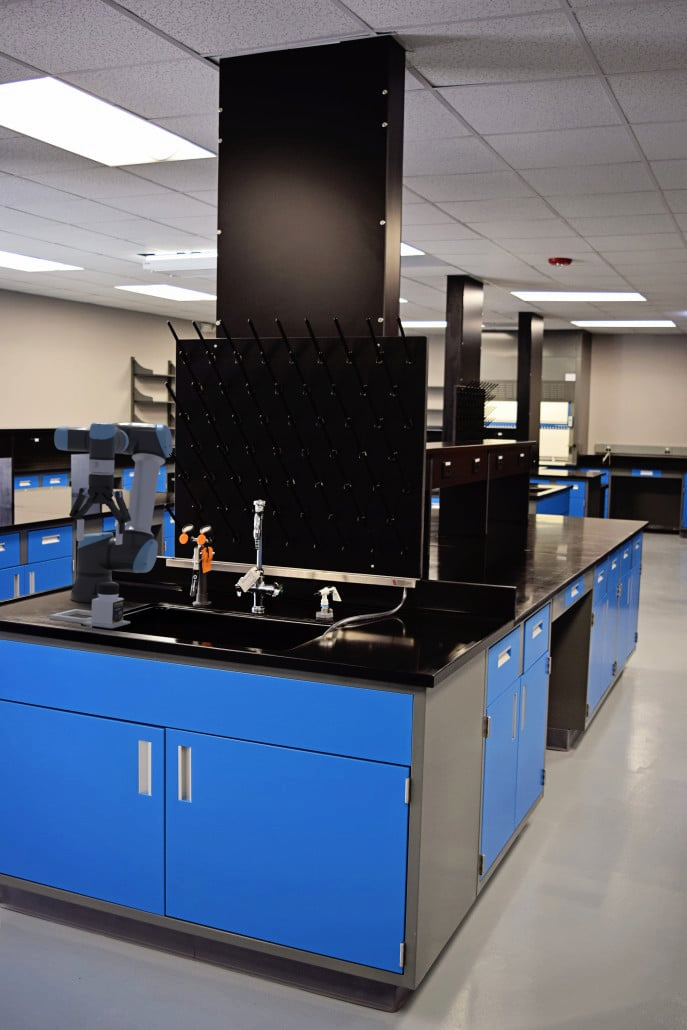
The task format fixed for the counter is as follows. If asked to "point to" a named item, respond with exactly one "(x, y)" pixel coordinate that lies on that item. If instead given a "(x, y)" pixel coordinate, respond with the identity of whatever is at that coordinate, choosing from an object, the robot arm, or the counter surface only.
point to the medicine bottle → (107, 604)
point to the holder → (66, 617)
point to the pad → (106, 624)
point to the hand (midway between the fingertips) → (99, 542)
